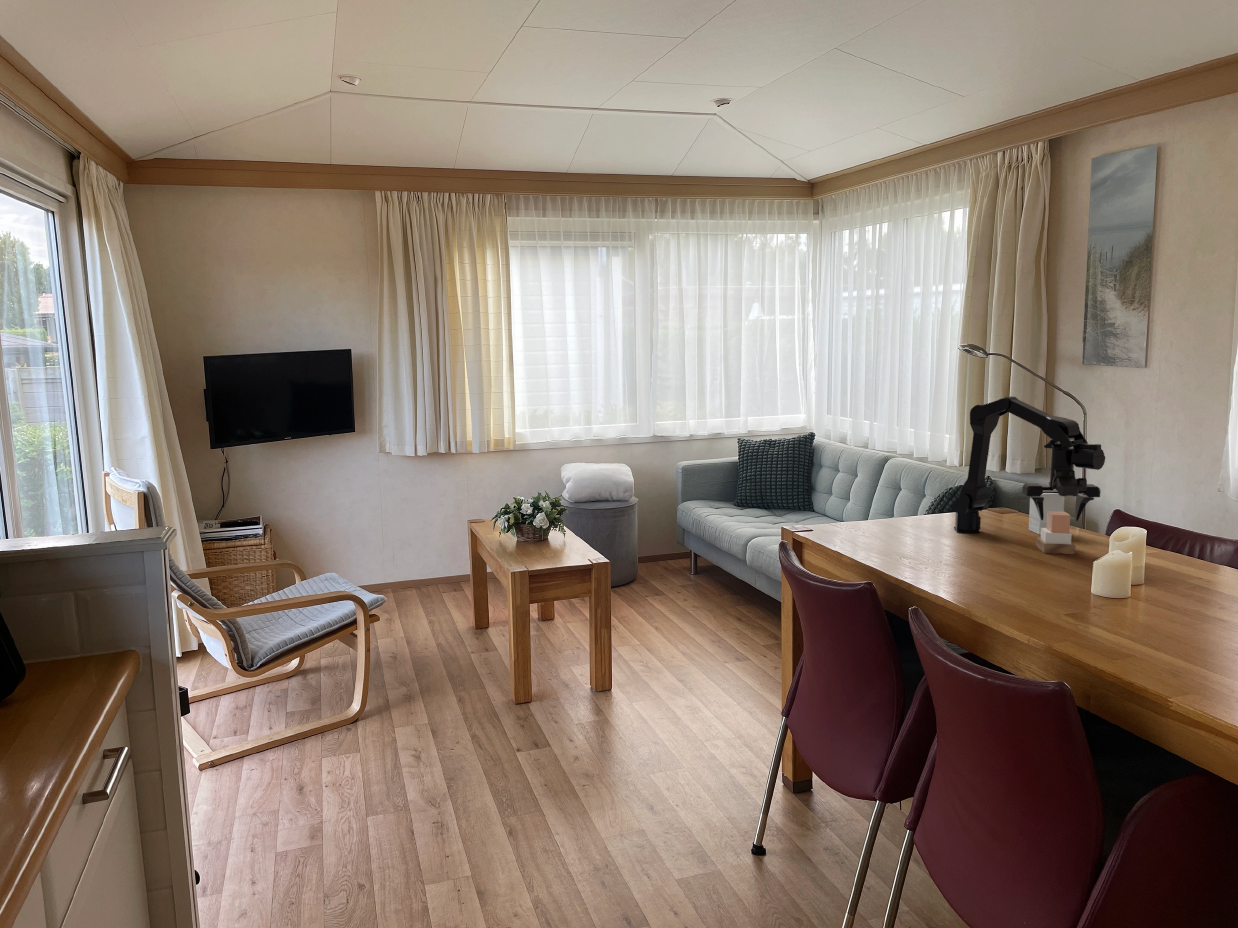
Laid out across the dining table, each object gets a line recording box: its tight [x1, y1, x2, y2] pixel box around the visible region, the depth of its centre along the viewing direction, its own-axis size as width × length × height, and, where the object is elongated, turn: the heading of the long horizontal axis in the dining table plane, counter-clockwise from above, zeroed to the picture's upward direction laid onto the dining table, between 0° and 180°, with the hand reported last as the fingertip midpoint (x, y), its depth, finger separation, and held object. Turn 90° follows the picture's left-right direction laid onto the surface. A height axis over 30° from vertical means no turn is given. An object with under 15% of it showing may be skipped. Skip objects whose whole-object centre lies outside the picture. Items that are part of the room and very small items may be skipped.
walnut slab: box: [1035, 536, 1077, 555], centre depth 242 cm, size 8×8×3 cm
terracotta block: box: [1047, 511, 1071, 533], centre depth 240 cm, size 5×5×5 cm
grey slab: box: [1039, 528, 1073, 544], centre depth 241 cm, size 6×6×3 cm
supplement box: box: [1028, 493, 1066, 536], centre depth 262 cm, size 7×7×13 cm
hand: (1059, 520), depth 240 cm, fingers open, 9 cm apart
